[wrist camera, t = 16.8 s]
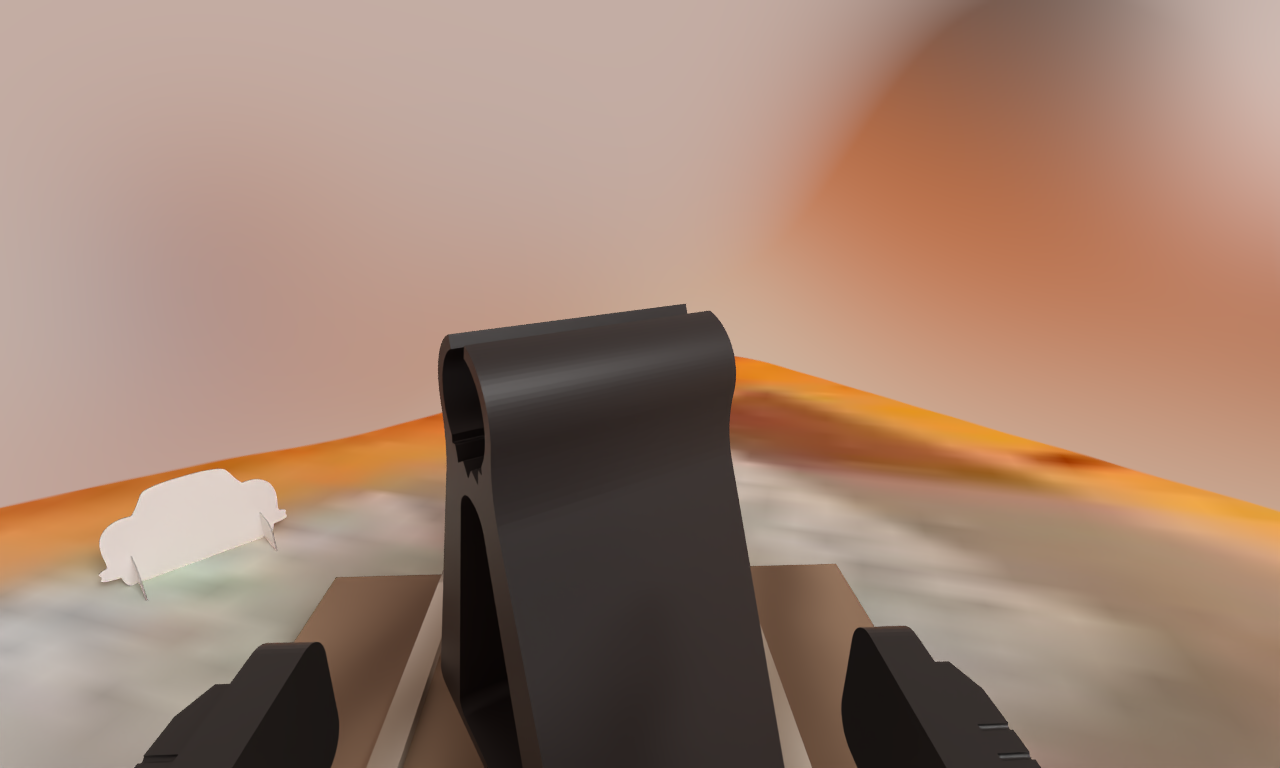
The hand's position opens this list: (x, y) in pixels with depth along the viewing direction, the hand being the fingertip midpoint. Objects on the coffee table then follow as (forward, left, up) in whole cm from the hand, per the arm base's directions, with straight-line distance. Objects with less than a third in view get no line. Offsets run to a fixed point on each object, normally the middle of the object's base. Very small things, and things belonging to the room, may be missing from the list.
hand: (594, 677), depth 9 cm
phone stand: (0, -6, -8) cm, 10 cm away
